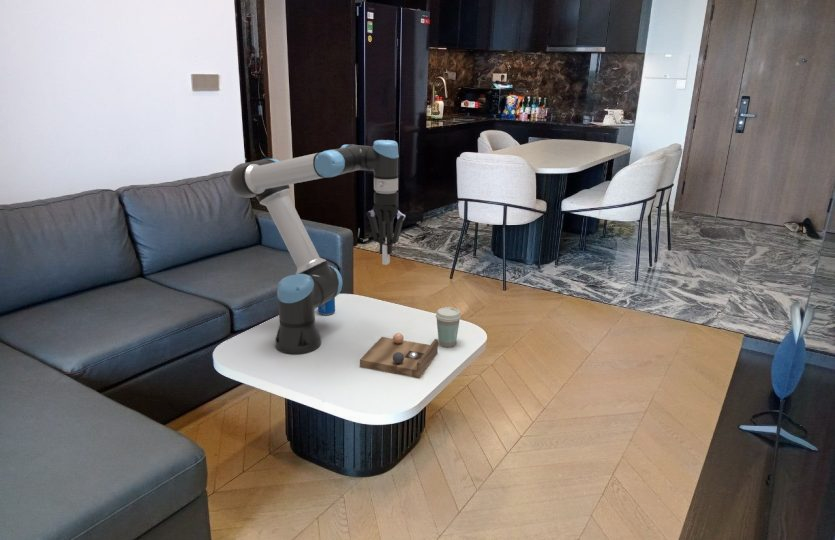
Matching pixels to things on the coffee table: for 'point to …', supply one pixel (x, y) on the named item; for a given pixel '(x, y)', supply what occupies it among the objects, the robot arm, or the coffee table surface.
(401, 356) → the black ball
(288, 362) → the coffee table surface
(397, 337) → the clay ball
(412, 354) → the steel ball
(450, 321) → the coffee cup
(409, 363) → the wooden board
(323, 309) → the beverage can
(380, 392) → the coffee table surface
